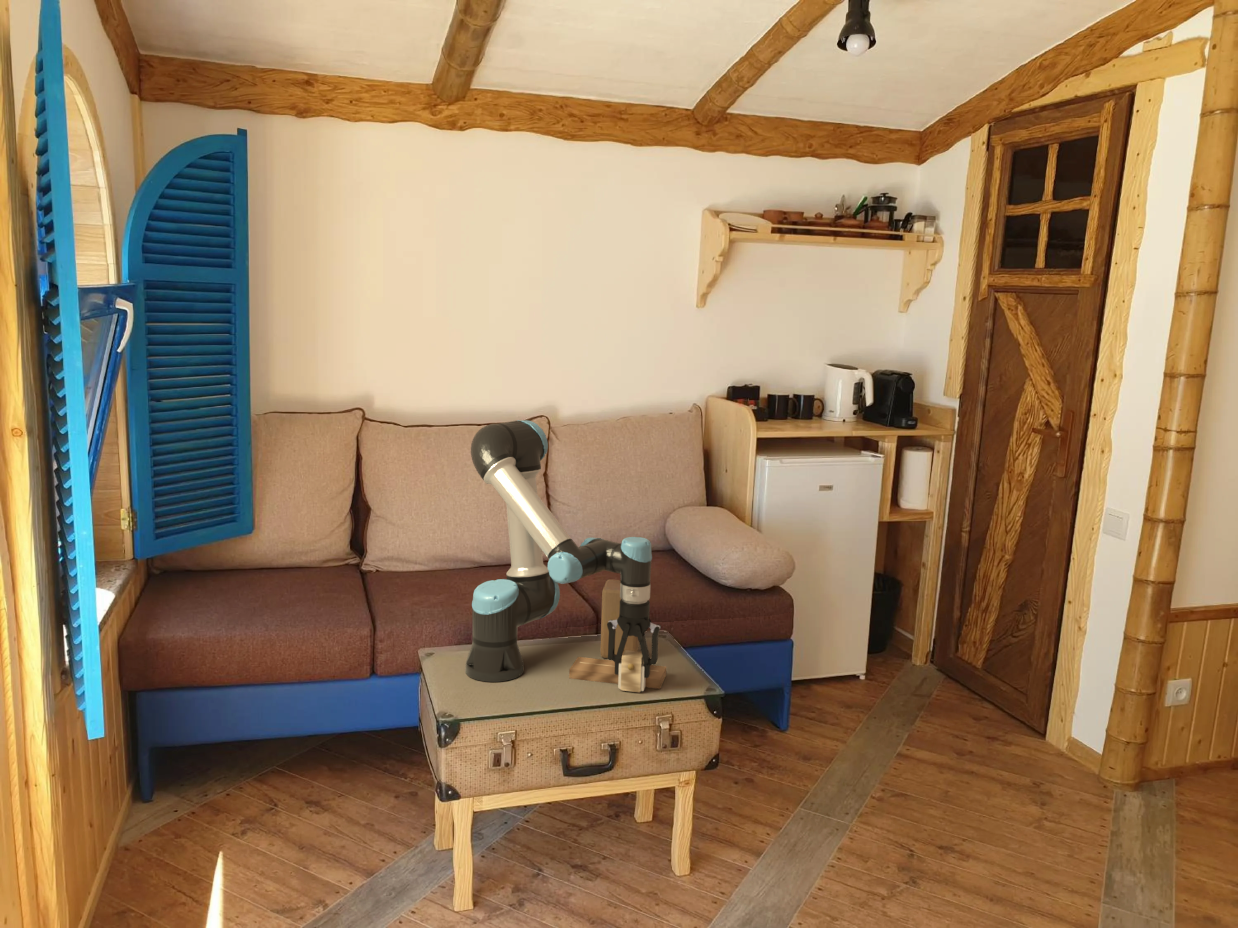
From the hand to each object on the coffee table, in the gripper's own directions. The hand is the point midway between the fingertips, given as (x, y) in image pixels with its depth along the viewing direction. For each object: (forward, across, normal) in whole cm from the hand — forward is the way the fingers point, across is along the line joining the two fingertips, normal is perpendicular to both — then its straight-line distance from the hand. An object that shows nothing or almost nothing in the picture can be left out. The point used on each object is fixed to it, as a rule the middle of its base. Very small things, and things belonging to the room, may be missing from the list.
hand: (631, 687), depth 249 cm
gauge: (0, 0, +5) cm, 5 cm away
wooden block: (+1, -8, +24) cm, 25 cm away
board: (+1, -5, +7) cm, 9 cm away
